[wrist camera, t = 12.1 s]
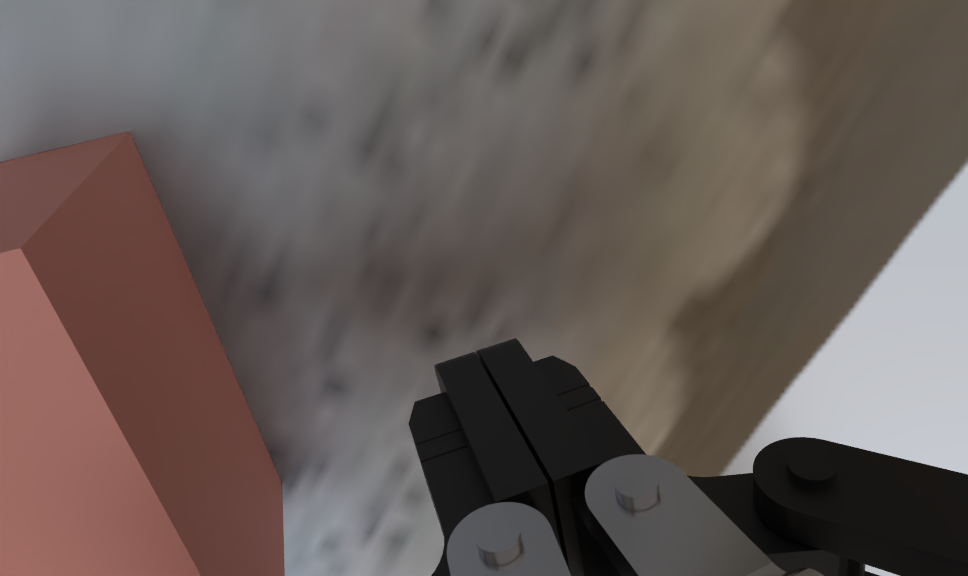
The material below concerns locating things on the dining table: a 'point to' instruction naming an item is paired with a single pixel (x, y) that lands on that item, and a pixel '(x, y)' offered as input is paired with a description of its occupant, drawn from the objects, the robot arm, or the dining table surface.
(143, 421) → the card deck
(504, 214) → the dining table surface
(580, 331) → the dining table surface
